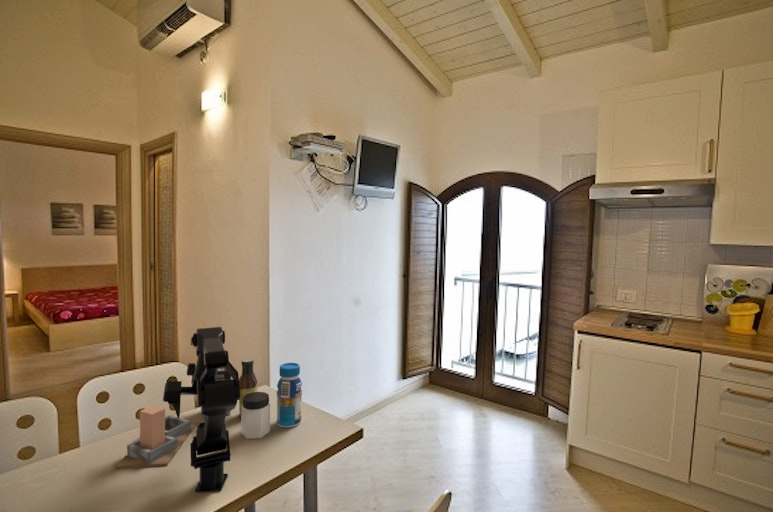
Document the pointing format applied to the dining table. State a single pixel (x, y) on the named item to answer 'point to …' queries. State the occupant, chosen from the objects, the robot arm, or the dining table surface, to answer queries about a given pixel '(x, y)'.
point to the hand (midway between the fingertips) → (196, 416)
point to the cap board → (159, 462)
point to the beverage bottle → (289, 396)
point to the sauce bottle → (247, 380)
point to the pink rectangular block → (152, 427)
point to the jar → (255, 415)
